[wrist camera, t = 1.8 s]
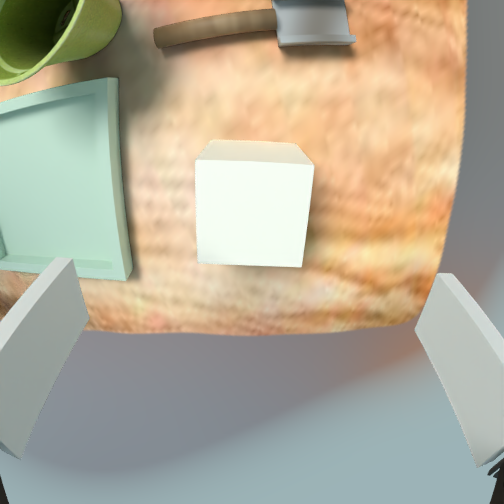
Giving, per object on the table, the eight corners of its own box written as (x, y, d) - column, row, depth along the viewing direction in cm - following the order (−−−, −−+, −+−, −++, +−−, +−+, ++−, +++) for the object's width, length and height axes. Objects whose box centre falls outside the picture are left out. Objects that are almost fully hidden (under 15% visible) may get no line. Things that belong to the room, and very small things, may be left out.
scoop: (163, 64, 18) (156, 62, 17) (157, 16, 17) (149, 11, 15) (348, 45, 18) (356, 41, 16) (340, -4, 16) (347, -10, 14)
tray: (6, 259, 26) (-4, 269, 24) (-21, 111, 18) (-35, 115, 16) (133, 268, 26) (126, 280, 25) (118, 77, 19) (107, 77, 17)
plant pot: (111, 94, 19) (44, 102, 12) (26, 67, 17) (-47, 74, 10) (166, -16, 15) (123, -62, 8) (70, -32, 13) (9, -59, 6)
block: (210, 216, 24) (197, 263, 18) (211, 139, 21) (195, 160, 15) (288, 219, 24) (301, 266, 18) (295, 143, 22) (314, 165, 15)
